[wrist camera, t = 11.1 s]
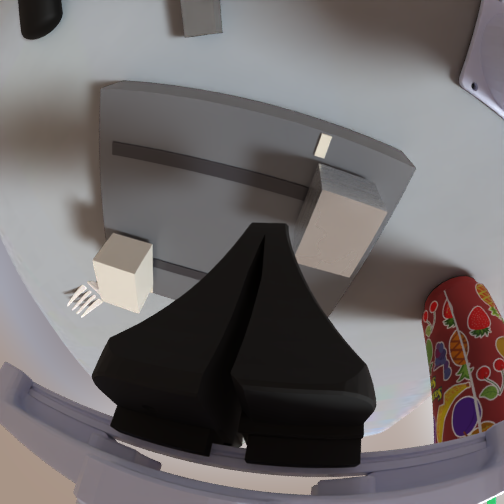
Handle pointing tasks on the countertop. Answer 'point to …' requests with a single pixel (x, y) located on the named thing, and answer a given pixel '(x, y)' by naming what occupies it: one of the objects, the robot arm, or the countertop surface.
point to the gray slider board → (223, 176)
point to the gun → (50, 13)
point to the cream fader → (124, 272)
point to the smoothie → (464, 359)
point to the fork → (79, 291)
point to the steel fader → (337, 221)
